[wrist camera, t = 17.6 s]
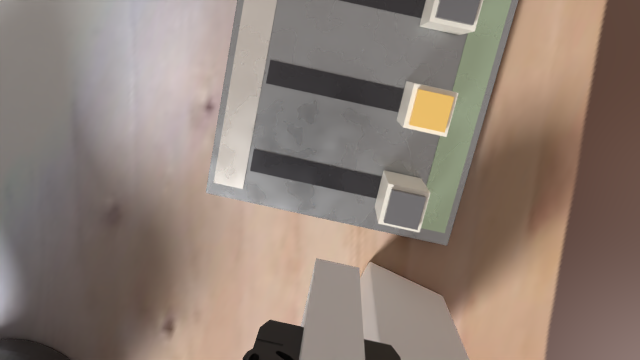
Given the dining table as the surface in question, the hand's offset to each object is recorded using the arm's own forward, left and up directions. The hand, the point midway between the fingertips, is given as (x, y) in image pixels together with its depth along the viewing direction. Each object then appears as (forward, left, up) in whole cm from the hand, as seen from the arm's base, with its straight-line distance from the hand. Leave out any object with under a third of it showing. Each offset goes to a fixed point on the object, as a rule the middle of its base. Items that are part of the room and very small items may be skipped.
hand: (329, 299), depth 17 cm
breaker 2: (+5, +13, -23) cm, 27 cm away
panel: (0, +6, -24) cm, 25 cm away
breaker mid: (+5, +6, -23) cm, 24 cm away
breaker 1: (+5, -1, -23) cm, 23 cm away
